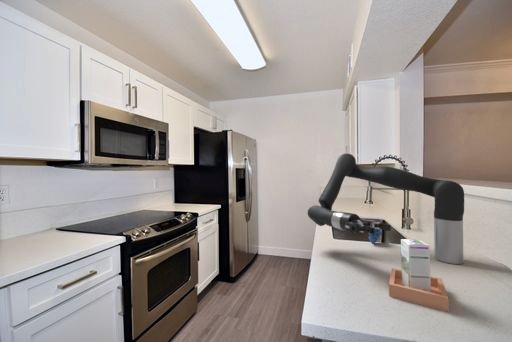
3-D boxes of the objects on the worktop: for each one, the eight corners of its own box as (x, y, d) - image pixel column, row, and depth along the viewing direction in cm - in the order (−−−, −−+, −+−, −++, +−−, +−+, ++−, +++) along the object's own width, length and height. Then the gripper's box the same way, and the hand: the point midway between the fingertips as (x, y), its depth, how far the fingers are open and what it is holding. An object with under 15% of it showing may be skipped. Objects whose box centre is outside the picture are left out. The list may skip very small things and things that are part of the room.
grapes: (379, 247, 109) (379, 223, 109) (364, 244, 114) (364, 221, 114) (385, 242, 118) (385, 219, 118) (371, 239, 122) (371, 217, 122)
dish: (391, 278, 77) (391, 268, 77) (441, 289, 69) (441, 278, 70) (389, 295, 66) (389, 284, 66) (448, 311, 58) (448, 298, 58)
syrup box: (431, 295, 64) (431, 245, 65) (409, 293, 66) (408, 243, 66) (421, 285, 70) (420, 239, 70) (400, 283, 71) (400, 238, 71)
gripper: (332, 214, 89) (368, 220, 75) (357, 210, 95) (395, 216, 81) (332, 232, 89) (369, 243, 74) (357, 228, 95) (395, 237, 81)
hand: (382, 229), depth 78 cm, fingers open, 8 cm apart
